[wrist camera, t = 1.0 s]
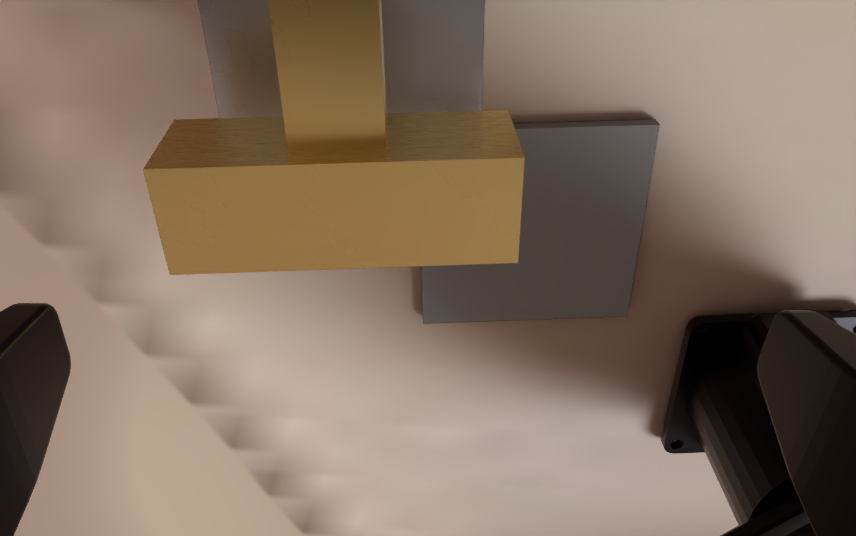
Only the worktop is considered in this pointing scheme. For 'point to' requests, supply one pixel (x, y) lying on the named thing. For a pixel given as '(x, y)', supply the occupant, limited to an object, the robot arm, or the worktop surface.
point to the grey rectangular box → (403, 56)
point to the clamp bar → (336, 167)
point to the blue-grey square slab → (561, 230)
